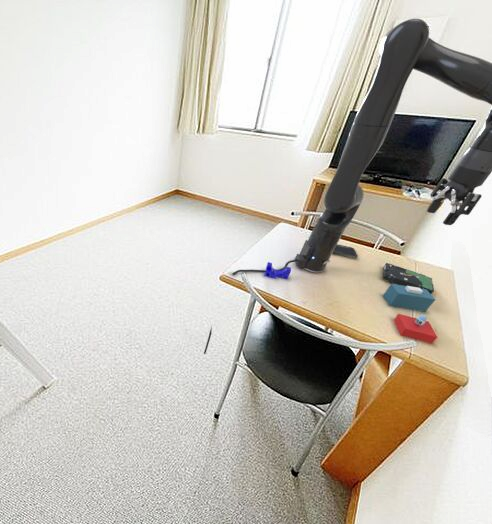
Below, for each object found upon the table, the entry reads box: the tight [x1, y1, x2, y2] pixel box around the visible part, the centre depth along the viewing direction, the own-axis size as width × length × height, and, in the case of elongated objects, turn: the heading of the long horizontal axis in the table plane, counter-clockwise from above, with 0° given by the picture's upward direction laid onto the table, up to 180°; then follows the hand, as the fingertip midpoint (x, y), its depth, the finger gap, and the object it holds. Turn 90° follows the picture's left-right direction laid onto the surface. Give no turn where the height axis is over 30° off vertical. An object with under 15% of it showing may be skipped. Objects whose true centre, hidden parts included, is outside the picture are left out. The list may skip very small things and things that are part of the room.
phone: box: [332, 243, 358, 260], centre depth 129 cm, size 8×1×15 cm
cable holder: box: [263, 261, 292, 280], centre depth 109 cm, size 8×4×4 cm, turn 70°
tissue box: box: [382, 283, 437, 313], centre depth 101 cm, size 5×11×7 cm, turn 79°
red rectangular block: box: [393, 313, 438, 344], centre depth 90 cm, size 8×7×6 cm
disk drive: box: [381, 262, 435, 295], centre depth 113 cm, size 10×3×15 cm
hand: (438, 218), depth 94 cm, fingers open, 8 cm apart
